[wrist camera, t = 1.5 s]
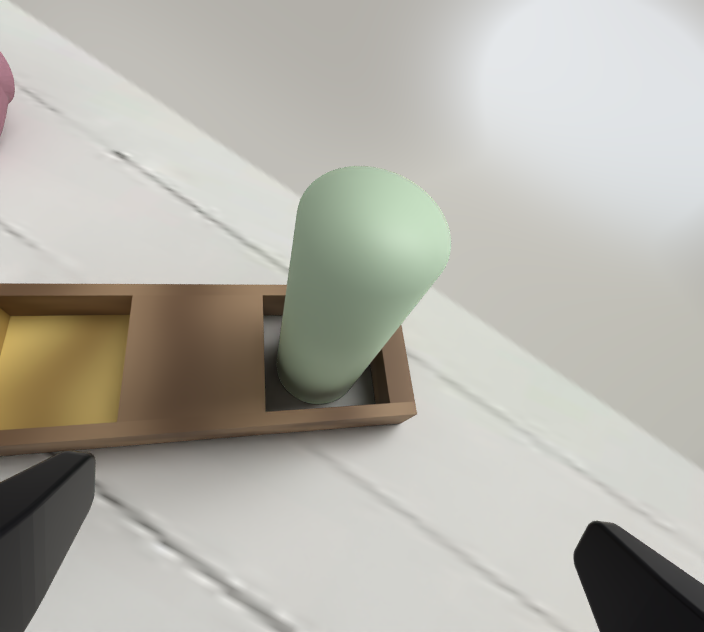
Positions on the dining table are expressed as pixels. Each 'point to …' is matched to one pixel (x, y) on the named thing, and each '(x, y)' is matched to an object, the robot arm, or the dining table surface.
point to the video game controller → (5, 89)
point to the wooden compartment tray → (157, 367)
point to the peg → (354, 275)
